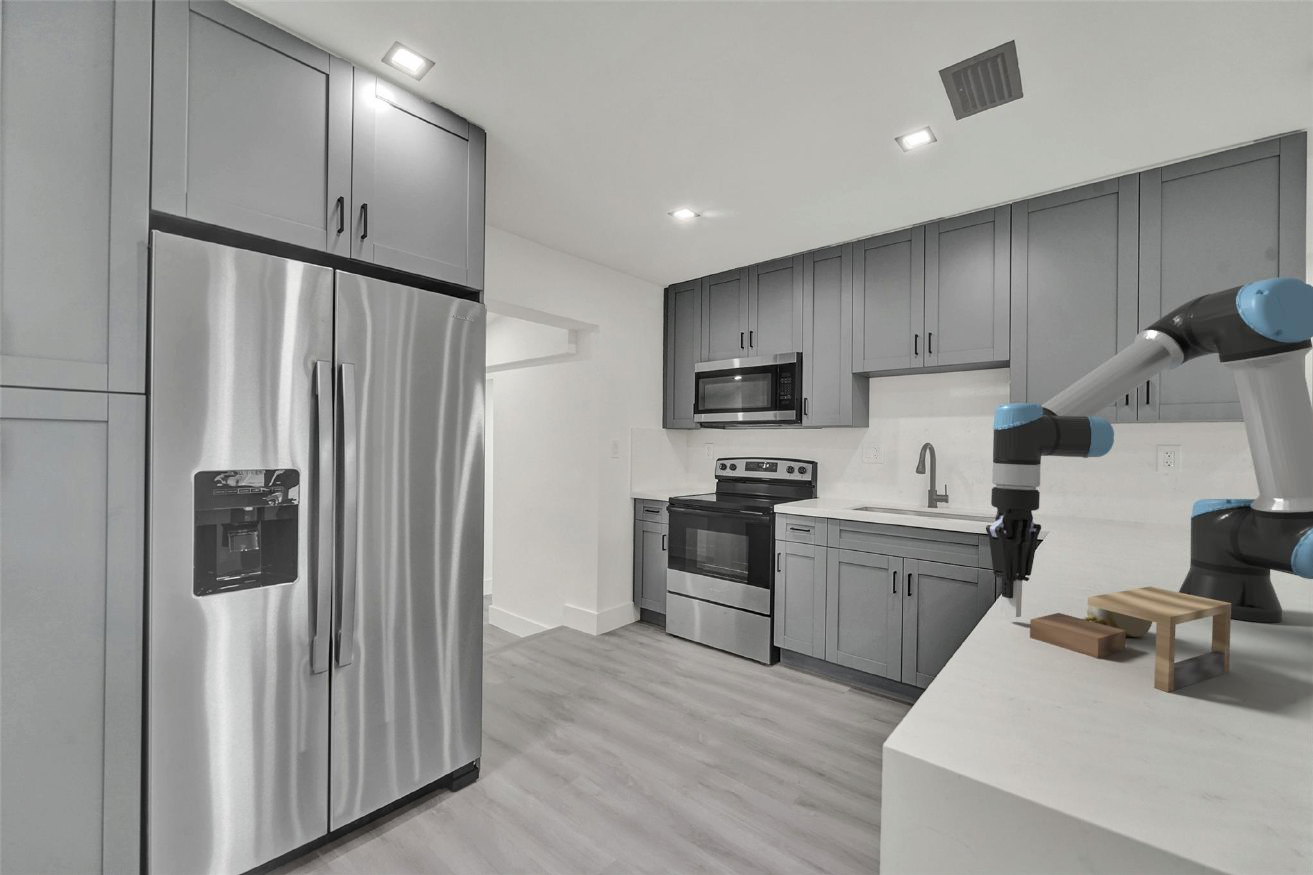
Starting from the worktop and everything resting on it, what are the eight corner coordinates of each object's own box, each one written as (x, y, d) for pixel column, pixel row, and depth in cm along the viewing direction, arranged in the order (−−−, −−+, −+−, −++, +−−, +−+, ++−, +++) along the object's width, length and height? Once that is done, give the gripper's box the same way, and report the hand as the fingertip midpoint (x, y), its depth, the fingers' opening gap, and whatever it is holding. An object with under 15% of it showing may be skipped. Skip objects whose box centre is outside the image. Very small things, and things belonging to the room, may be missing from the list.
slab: (1057, 632, 102) (1058, 612, 102) (1125, 651, 93) (1125, 630, 93) (1029, 639, 98) (1030, 619, 98) (1097, 660, 89) (1098, 638, 89)
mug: (1106, 621, 109) (1138, 583, 104) (1134, 661, 101) (1170, 621, 96) (1066, 609, 110) (1096, 571, 105) (1091, 648, 101) (1125, 608, 96)
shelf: (1147, 648, 94) (1149, 586, 94) (1229, 671, 85) (1231, 603, 85) (1085, 664, 86) (1087, 597, 86) (1167, 692, 77) (1170, 617, 77)
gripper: (1016, 484, 112) (1012, 605, 112) (973, 485, 106) (968, 612, 106) (1058, 488, 105) (1053, 616, 105) (1013, 489, 99) (1009, 625, 99)
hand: (1011, 614), depth 106 cm, fingers closed
